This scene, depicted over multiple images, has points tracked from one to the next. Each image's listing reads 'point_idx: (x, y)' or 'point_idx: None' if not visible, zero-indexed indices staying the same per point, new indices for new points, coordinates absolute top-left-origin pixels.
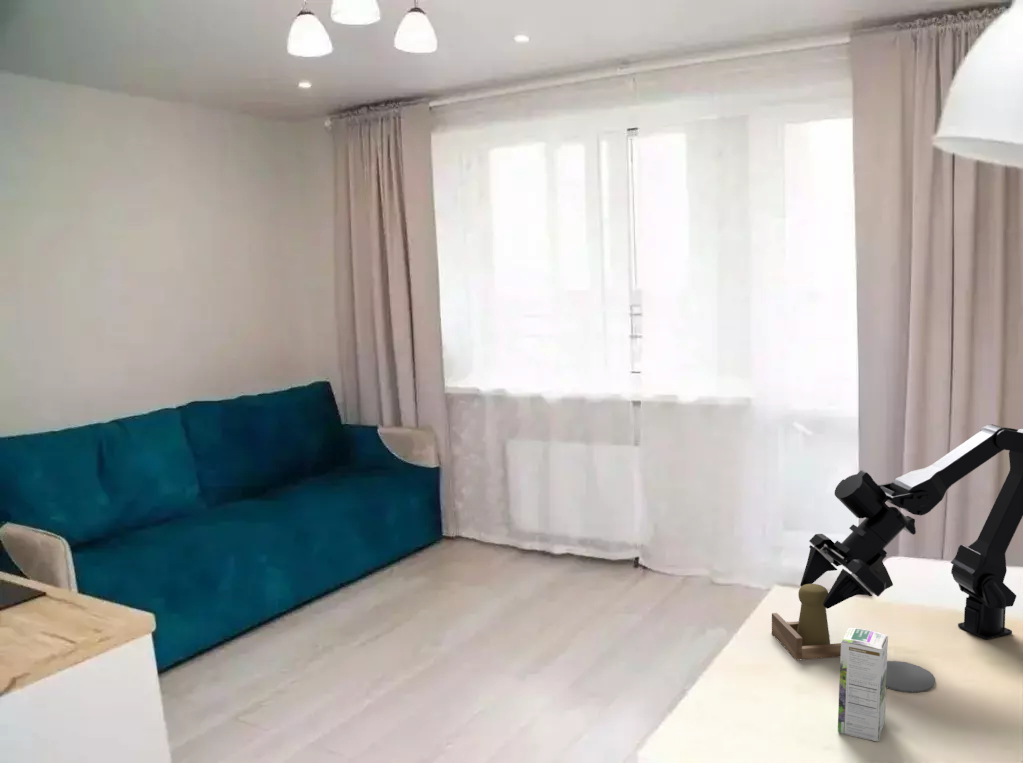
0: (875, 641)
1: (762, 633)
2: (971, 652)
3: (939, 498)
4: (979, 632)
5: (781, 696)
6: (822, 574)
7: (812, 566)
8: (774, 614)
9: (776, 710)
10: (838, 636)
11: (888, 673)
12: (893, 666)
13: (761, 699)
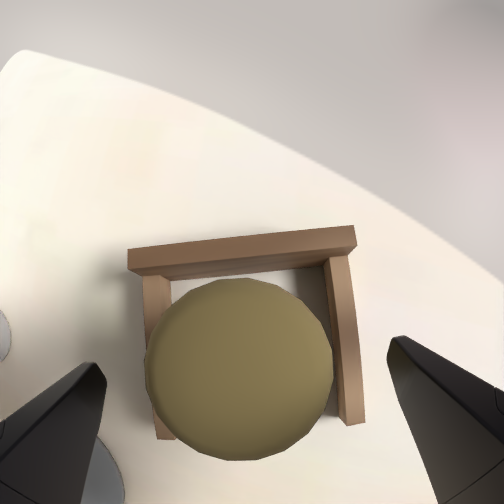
0: None
1: (339, 221)
2: None
3: None
4: None
5: (30, 188)
6: (432, 485)
7: (469, 439)
8: (342, 231)
9: (5, 172)
10: (302, 444)
11: None
12: (93, 482)
13: (34, 153)
